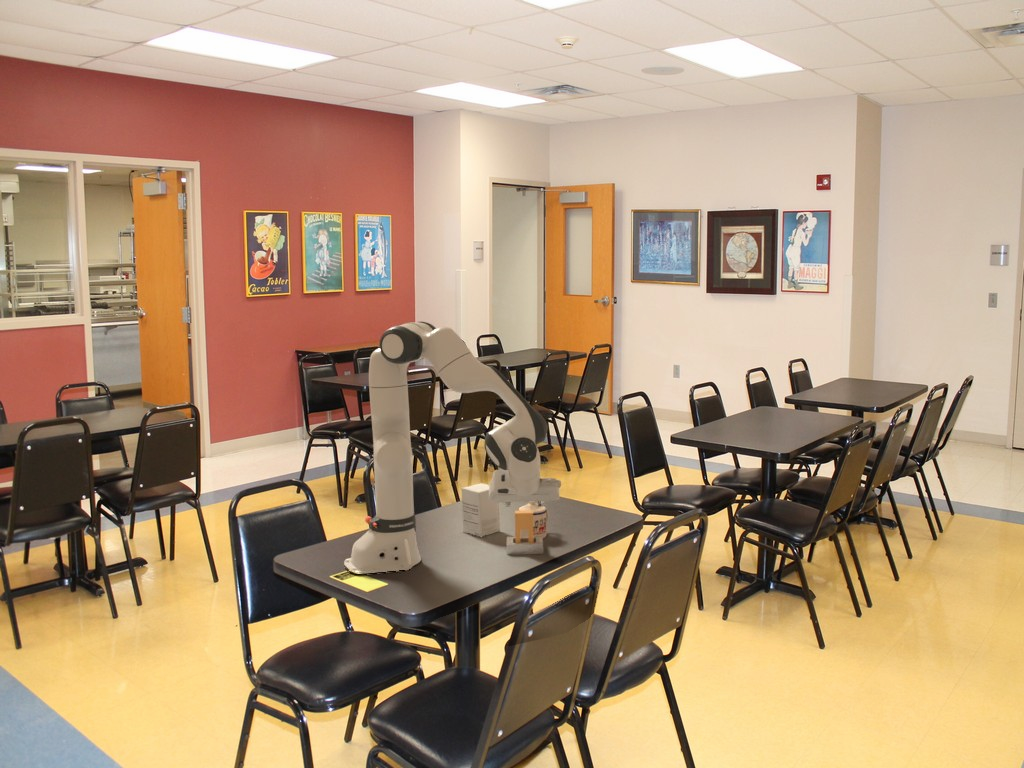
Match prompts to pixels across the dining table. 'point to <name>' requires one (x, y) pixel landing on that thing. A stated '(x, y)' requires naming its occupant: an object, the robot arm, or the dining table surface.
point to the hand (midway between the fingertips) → (524, 504)
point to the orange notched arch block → (524, 524)
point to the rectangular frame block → (525, 545)
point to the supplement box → (479, 511)
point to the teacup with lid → (536, 519)
